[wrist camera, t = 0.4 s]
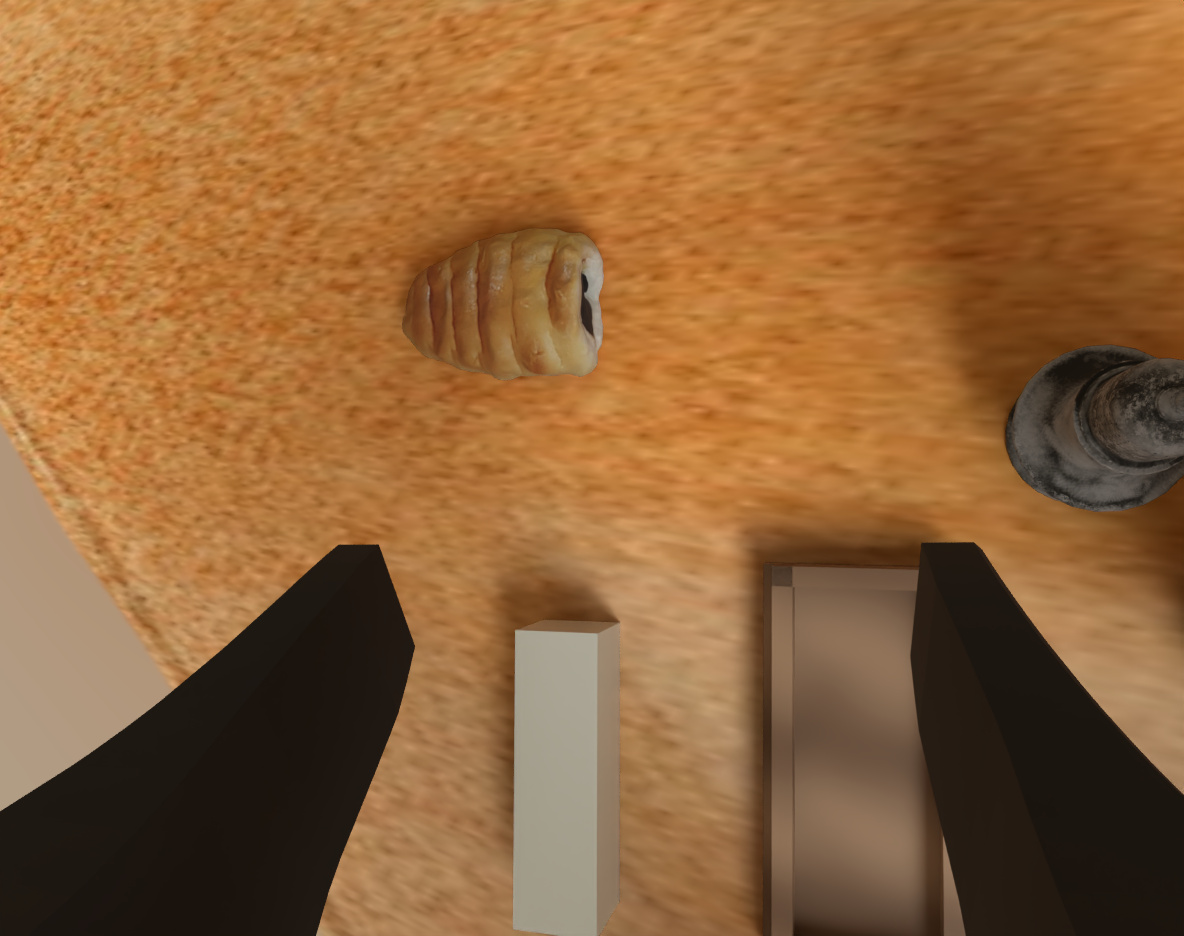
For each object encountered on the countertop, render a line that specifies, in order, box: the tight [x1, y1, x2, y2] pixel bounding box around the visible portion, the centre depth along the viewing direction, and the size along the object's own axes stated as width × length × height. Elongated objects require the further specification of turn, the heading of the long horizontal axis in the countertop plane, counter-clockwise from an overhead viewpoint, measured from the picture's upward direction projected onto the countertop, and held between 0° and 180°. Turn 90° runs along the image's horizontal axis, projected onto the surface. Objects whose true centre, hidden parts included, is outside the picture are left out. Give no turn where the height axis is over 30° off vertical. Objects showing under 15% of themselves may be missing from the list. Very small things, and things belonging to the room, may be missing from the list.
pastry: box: [402, 228, 604, 380], centre depth 40 cm, size 9×7×4 cm
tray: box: [763, 563, 966, 936], centre depth 36 cm, size 16×8×2 cm, turn 0°
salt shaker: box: [1006, 345, 1184, 512], centre depth 30 cm, size 6×6×12 cm
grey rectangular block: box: [513, 620, 620, 936], centre depth 39 cm, size 12×4×4 cm, turn 0°
